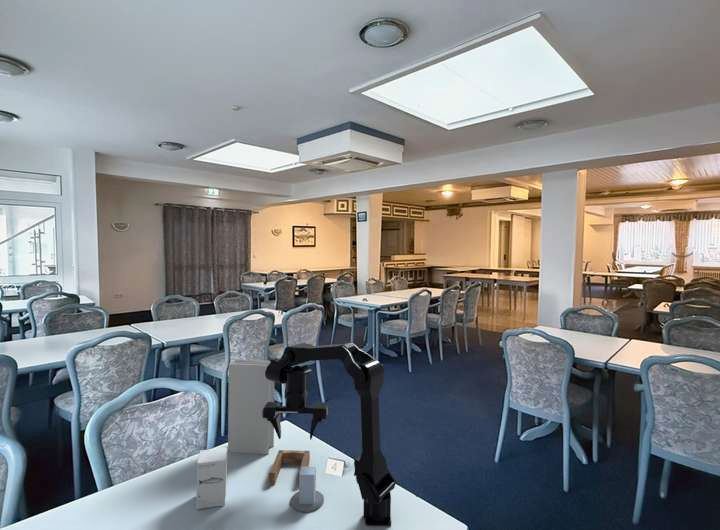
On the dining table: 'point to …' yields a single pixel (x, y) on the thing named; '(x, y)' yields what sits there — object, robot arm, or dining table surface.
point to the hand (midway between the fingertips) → (295, 438)
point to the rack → (288, 461)
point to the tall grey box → (249, 407)
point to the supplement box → (211, 478)
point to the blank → (307, 485)
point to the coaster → (307, 507)
